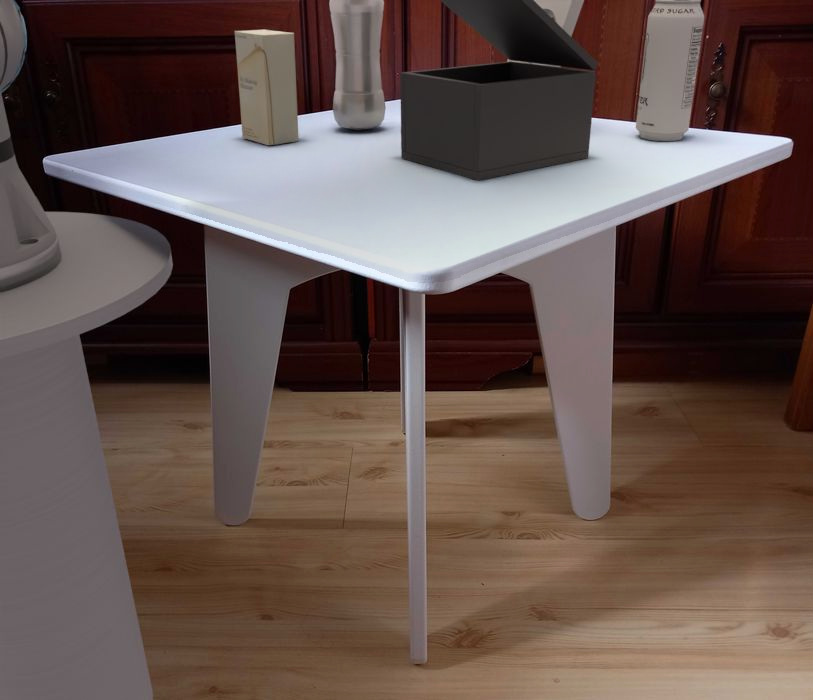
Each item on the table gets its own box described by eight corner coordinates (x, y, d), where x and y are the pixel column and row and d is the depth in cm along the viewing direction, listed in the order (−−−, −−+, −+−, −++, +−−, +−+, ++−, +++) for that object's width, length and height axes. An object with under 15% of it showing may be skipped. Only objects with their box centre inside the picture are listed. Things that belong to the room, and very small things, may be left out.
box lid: (497, -23, 71) (501, -32, 71) (411, -24, 80) (415, -32, 80) (594, 70, 82) (598, 63, 82) (509, 60, 91) (512, 53, 91)
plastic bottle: (349, 123, 106) (342, -47, 97) (395, 126, 103) (392, -47, 94) (323, 131, 101) (314, -47, 92) (371, 135, 98) (366, -48, 89)
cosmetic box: (241, 139, 97) (231, 30, 92) (272, 133, 100) (264, 28, 94) (270, 146, 93) (261, 33, 87) (302, 141, 95) (295, 31, 90)
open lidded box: (478, 180, 78) (481, 85, 74) (401, 158, 87) (400, 72, 83) (588, 158, 86) (596, 71, 82) (507, 139, 95) (510, 61, 91)
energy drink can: (638, 130, 99) (653, -2, 93) (689, 133, 97) (708, -2, 91) (631, 140, 94) (646, 0, 88) (684, 143, 92) (704, 1, 86)
